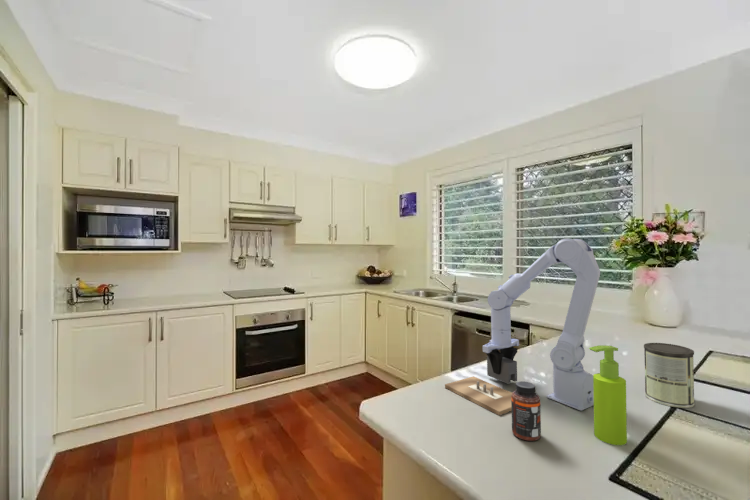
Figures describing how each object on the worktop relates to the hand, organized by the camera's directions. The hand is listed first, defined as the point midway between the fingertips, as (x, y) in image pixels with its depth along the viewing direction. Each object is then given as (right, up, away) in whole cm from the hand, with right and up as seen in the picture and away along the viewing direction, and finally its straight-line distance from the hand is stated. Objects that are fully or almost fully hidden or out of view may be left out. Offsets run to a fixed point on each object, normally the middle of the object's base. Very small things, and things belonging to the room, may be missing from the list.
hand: (501, 371), depth 105 cm
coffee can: (+40, -3, -14) cm, 43 cm away
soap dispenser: (+11, -3, -32) cm, 34 cm away
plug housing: (0, -2, 0) cm, 2 cm away
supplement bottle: (-6, -3, -30) cm, 31 cm away
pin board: (-8, -3, -9) cm, 13 cm away
